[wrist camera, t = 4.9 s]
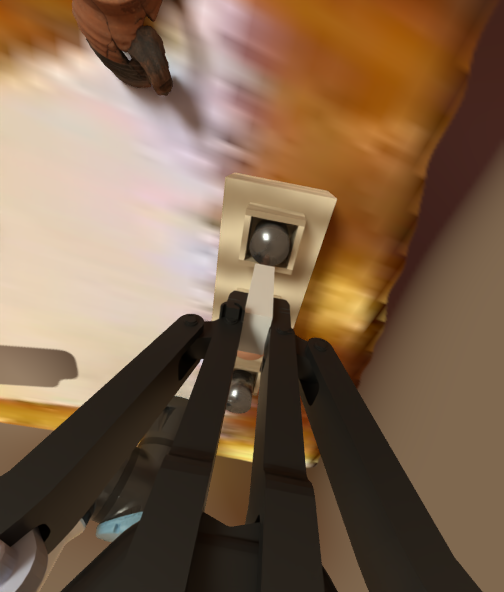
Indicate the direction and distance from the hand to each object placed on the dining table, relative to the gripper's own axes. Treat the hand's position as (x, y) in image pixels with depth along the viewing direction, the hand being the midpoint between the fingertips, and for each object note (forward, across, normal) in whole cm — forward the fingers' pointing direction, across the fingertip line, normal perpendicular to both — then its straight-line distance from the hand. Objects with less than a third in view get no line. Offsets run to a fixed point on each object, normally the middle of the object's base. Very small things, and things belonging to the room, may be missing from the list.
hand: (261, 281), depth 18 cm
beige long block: (+17, 0, +10) cm, 20 cm away
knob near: (+11, 0, -1) cm, 11 cm away
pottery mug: (+17, +16, -16) cm, 29 cm away
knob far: (+8, 0, +21) cm, 23 cm away
